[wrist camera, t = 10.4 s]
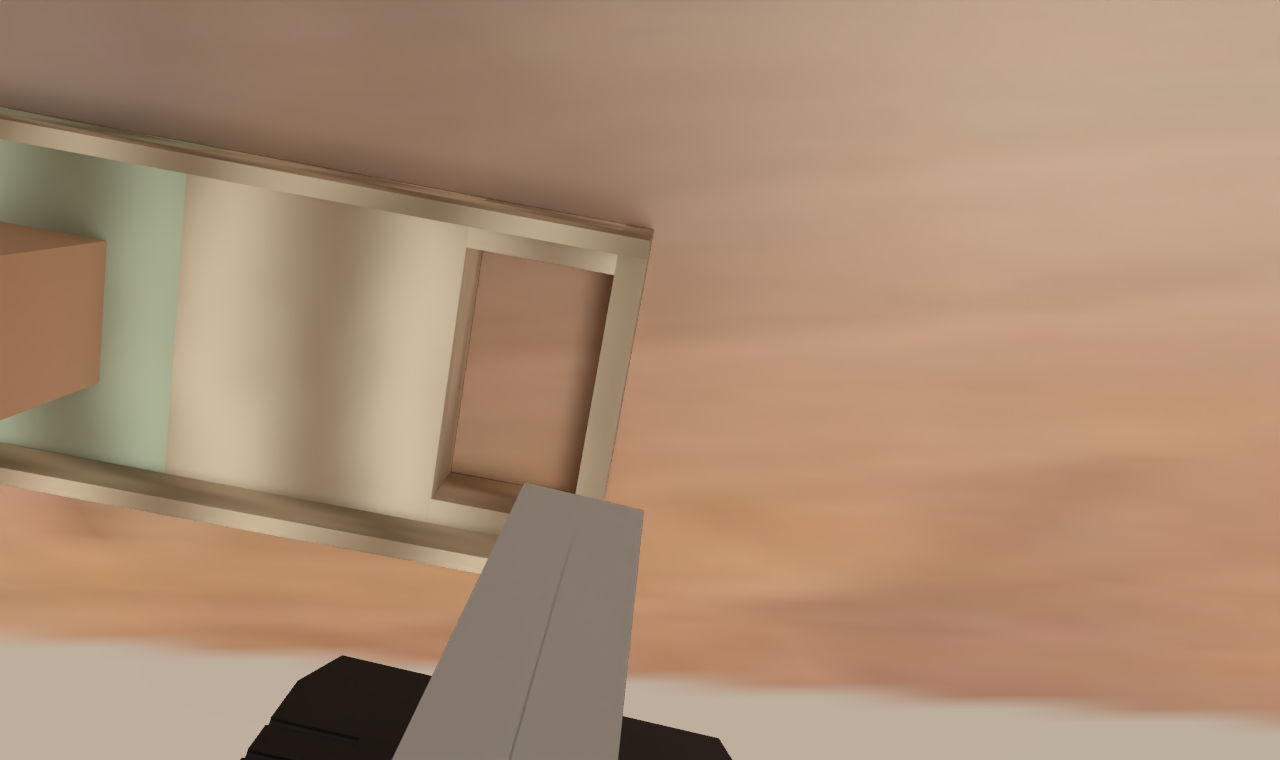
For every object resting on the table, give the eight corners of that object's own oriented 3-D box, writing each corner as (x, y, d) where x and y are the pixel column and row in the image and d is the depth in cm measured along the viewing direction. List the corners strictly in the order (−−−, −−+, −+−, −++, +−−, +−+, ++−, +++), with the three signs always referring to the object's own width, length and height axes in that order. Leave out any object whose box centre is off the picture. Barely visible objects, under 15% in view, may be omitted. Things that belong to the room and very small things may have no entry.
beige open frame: (-165, 394, 37) (-293, 429, 32) (-168, 75, 34) (-308, 61, 29) (597, 536, 37) (585, 593, 32) (654, 229, 34) (650, 241, 30)
